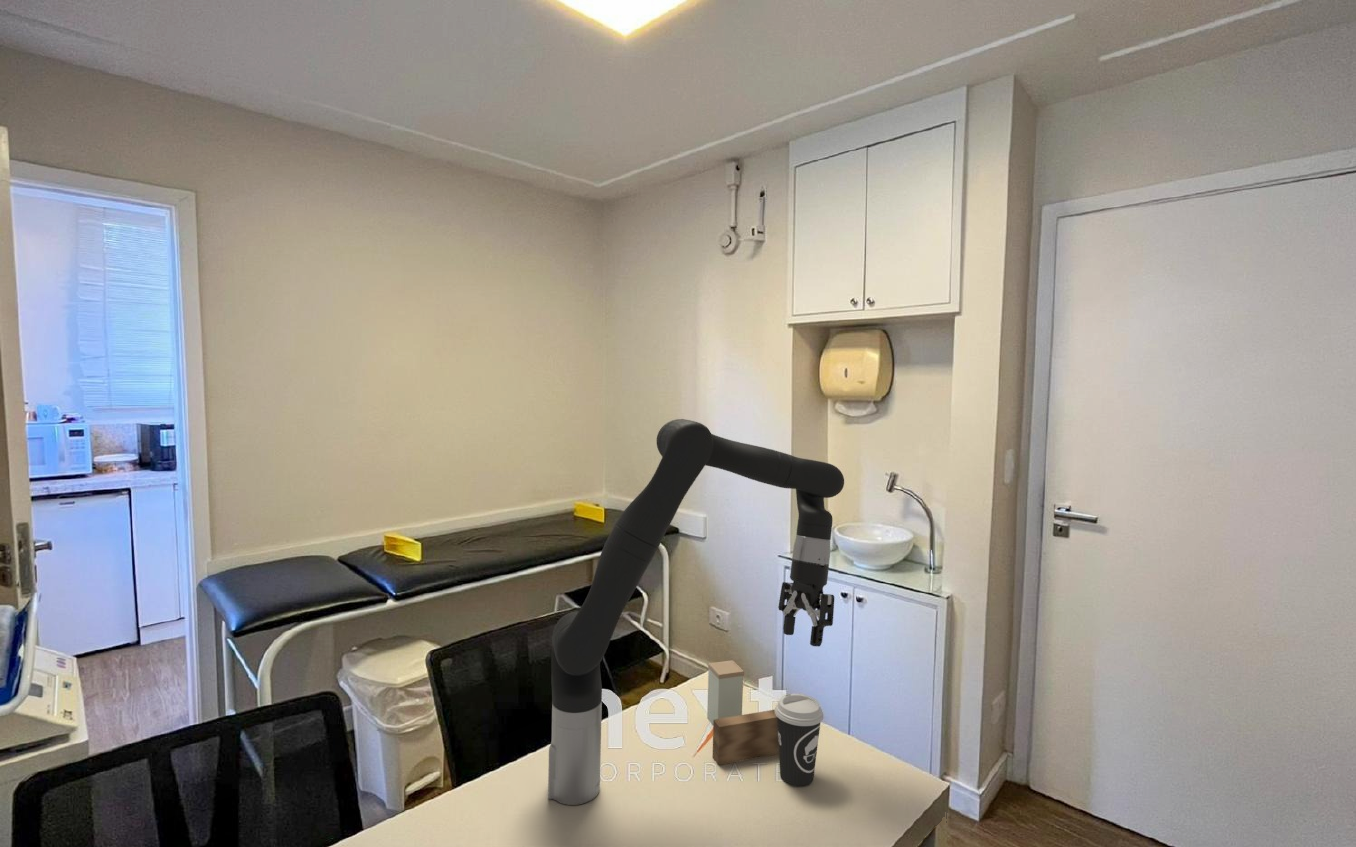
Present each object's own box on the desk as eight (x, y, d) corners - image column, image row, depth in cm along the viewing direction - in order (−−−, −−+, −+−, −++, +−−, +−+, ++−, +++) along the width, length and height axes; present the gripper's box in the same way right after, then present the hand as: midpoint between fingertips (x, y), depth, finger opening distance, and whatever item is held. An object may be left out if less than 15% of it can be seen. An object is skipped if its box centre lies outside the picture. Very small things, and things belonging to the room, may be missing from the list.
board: (718, 765, 127) (719, 726, 127) (712, 757, 130) (713, 719, 130) (787, 751, 133) (788, 715, 133) (780, 744, 136) (781, 708, 135)
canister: (717, 731, 140) (718, 674, 140) (706, 717, 146) (708, 663, 146) (742, 727, 142) (743, 671, 142) (730, 713, 148) (732, 660, 148)
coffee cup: (813, 762, 129) (816, 691, 129) (827, 791, 120) (830, 715, 119) (767, 763, 129) (770, 691, 128) (778, 792, 119) (780, 715, 118)
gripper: (775, 553, 134) (765, 630, 132) (819, 563, 121) (810, 649, 119) (802, 556, 137) (793, 631, 135) (848, 566, 124) (839, 650, 122)
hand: (801, 640), depth 127 cm, fingers open, 8 cm apart
